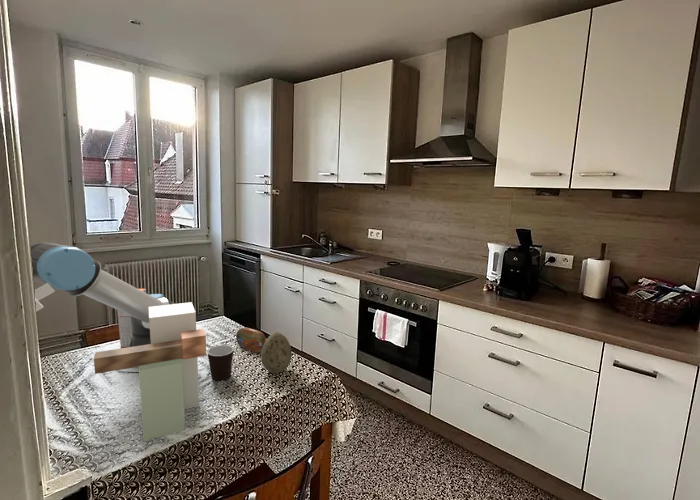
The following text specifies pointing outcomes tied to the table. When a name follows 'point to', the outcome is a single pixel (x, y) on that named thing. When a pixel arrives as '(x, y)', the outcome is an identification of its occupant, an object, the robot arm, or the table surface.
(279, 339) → the decorative egg
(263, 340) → the tin
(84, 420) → the table surface
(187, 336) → the bar
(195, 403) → the tall white pillar
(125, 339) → the cracker box
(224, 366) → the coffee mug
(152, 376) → the mint green upright block
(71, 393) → the table surface
